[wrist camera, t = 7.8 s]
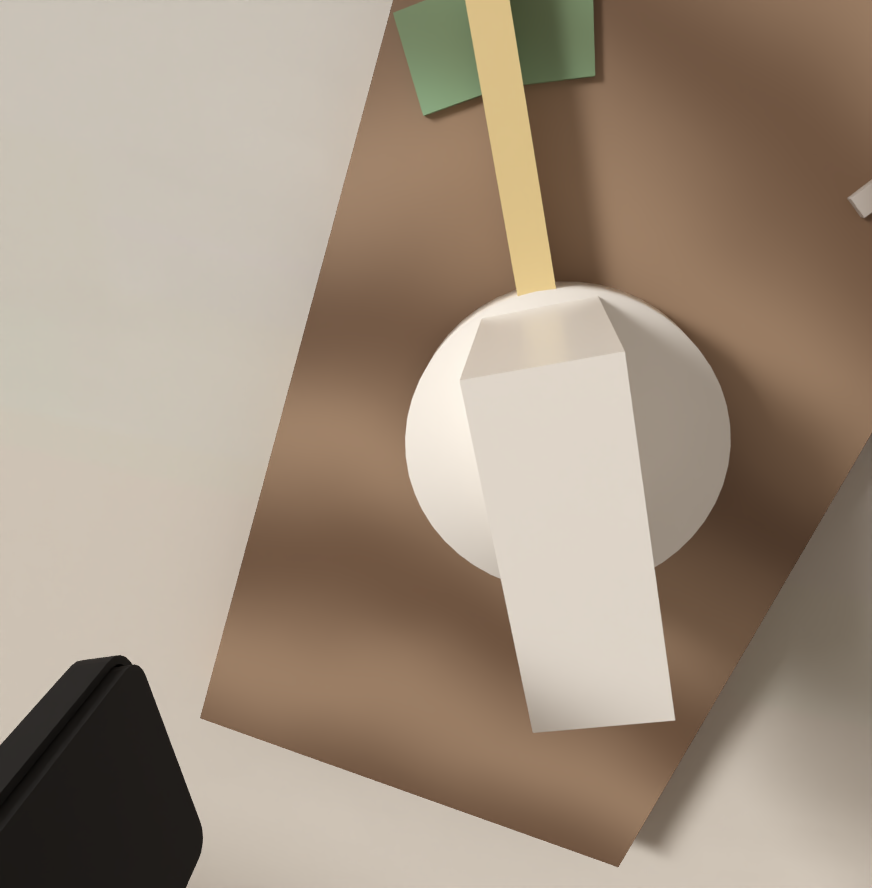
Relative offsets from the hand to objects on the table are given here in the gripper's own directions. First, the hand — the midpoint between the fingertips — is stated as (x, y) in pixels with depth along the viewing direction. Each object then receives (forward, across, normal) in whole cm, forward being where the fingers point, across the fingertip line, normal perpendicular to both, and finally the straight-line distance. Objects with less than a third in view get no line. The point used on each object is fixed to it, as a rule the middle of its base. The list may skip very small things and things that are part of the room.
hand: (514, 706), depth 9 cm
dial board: (+11, -1, 0) cm, 11 cm away
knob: (+9, -1, -4) cm, 10 cm away
